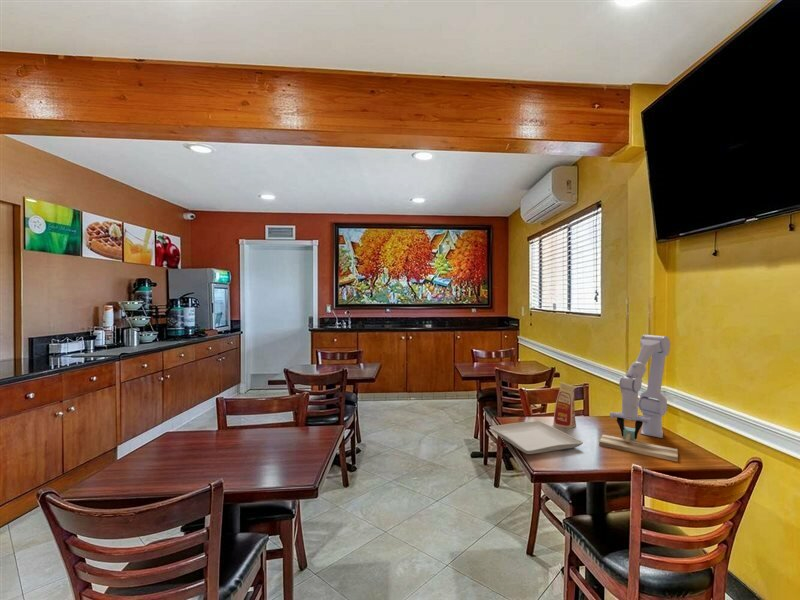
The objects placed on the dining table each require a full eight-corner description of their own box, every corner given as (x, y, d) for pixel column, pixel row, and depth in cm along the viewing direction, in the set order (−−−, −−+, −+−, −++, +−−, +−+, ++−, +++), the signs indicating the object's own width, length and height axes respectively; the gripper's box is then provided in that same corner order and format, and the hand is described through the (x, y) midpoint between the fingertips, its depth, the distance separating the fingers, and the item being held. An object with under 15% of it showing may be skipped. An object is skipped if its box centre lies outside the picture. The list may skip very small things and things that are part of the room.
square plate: (488, 434, 168) (488, 425, 168) (539, 428, 176) (539, 419, 176) (526, 459, 142) (526, 449, 142) (584, 451, 151) (584, 441, 151)
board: (602, 437, 164) (602, 434, 164) (677, 452, 149) (677, 448, 149) (599, 445, 156) (599, 441, 156) (677, 461, 141) (677, 457, 141)
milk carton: (553, 425, 180) (553, 383, 180) (557, 419, 187) (558, 379, 187) (574, 429, 175) (574, 385, 174) (577, 423, 182) (578, 382, 182)
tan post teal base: (624, 438, 164) (624, 426, 164) (635, 440, 162) (635, 428, 162) (621, 446, 154) (621, 434, 154) (632, 449, 152) (633, 436, 152)
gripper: (609, 404, 162) (608, 436, 162) (649, 410, 153) (649, 444, 153) (611, 400, 167) (610, 431, 167) (650, 406, 159) (650, 438, 159)
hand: (629, 437), depth 161 cm, fingers closed on tan post teal base, 4 cm apart
